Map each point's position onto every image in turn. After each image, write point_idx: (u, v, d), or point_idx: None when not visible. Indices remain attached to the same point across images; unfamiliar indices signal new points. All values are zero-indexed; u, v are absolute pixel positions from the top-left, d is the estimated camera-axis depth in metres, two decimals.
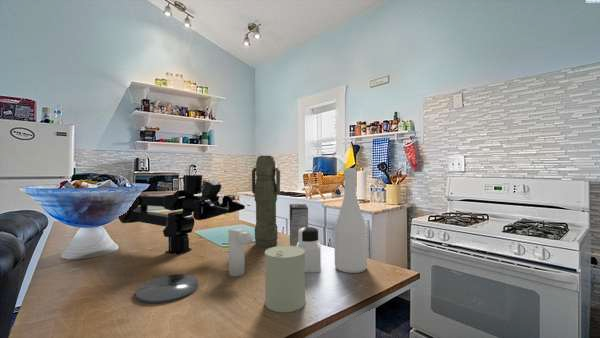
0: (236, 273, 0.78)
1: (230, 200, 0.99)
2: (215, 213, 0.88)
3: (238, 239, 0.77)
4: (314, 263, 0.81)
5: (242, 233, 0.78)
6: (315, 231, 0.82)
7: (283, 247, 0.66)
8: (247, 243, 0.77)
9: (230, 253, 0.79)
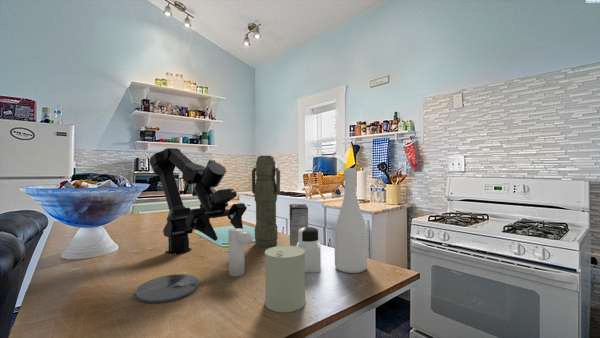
0: (236, 273, 0.78)
1: (236, 214, 0.88)
2: (205, 231, 0.80)
3: (238, 239, 0.77)
4: (314, 263, 0.81)
5: (242, 233, 0.78)
6: (315, 231, 0.82)
7: (283, 247, 0.66)
8: (247, 243, 0.77)
9: (230, 253, 0.79)
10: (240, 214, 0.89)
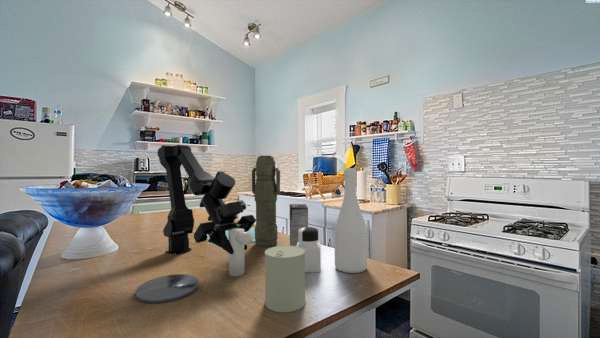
0: (236, 273, 0.78)
1: None
2: (221, 244, 0.79)
3: (238, 239, 0.77)
4: (314, 263, 0.81)
5: (242, 233, 0.78)
6: (315, 231, 0.82)
7: (283, 247, 0.66)
8: (247, 243, 0.77)
9: None
10: (244, 228, 0.84)
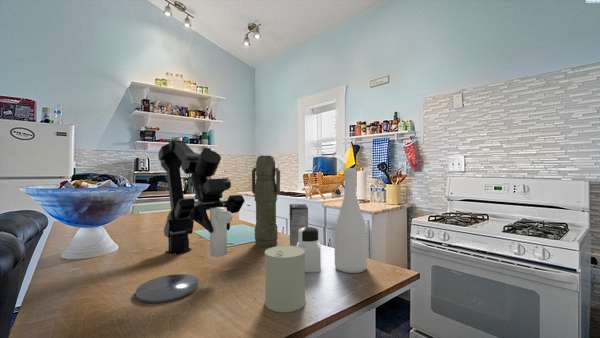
0: (216, 253, 0.74)
1: None
2: (202, 222, 0.75)
3: (217, 218, 0.73)
4: (314, 263, 0.81)
5: (222, 211, 0.73)
6: (315, 231, 0.82)
7: (283, 247, 0.66)
8: (225, 221, 0.72)
9: None
10: (228, 207, 0.80)
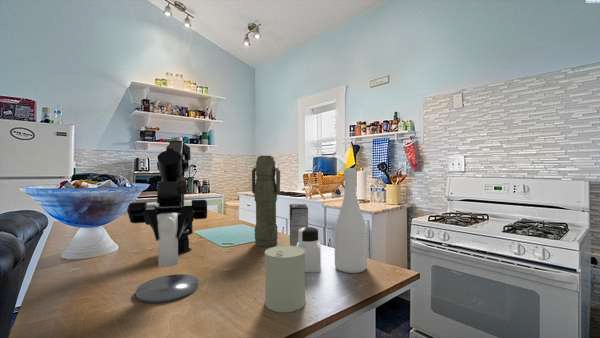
0: (161, 263, 0.68)
1: (180, 213, 0.72)
2: (153, 228, 0.71)
3: None
4: (314, 263, 0.81)
5: (163, 217, 0.66)
6: (315, 231, 0.82)
7: (283, 247, 0.66)
8: (163, 229, 0.65)
9: None
10: (184, 213, 0.72)
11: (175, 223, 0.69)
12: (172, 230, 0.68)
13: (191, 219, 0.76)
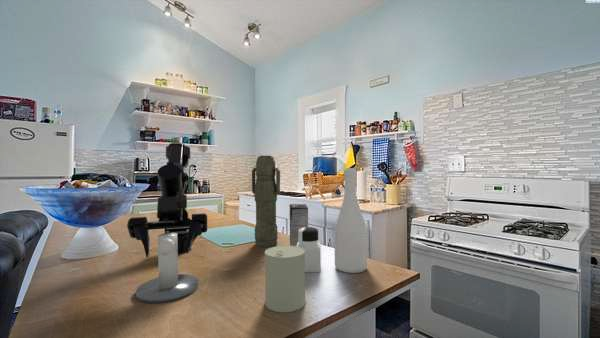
0: (161, 285, 0.68)
1: None
2: None
3: None
4: (314, 263, 0.81)
5: (162, 240, 0.66)
6: (315, 231, 0.82)
7: (283, 247, 0.66)
8: (163, 252, 0.65)
9: None
10: (193, 227, 0.73)
11: (175, 244, 0.69)
12: (172, 252, 0.68)
13: (199, 232, 0.76)
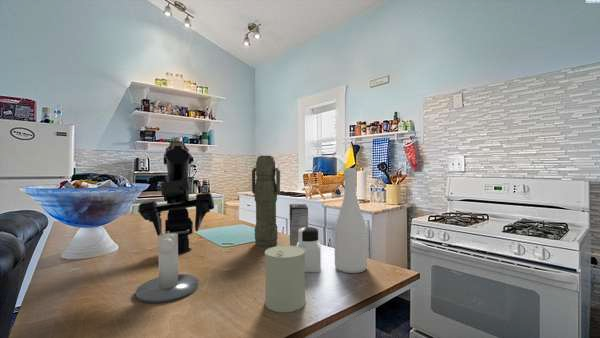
0: (161, 285, 0.68)
1: (196, 207, 0.77)
2: None
3: None
4: (314, 263, 0.81)
5: (163, 239, 0.66)
6: (315, 231, 0.82)
7: (283, 247, 0.66)
8: (163, 252, 0.65)
9: None
10: (199, 207, 0.77)
11: (175, 244, 0.69)
12: (172, 251, 0.69)
13: (207, 210, 0.80)
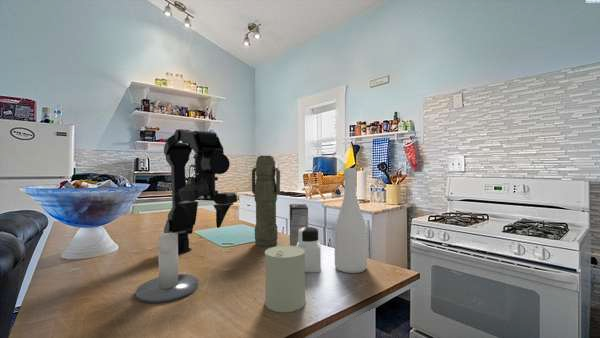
0: (161, 285, 0.68)
1: None
2: None
3: None
4: (314, 263, 0.81)
5: (163, 239, 0.66)
6: (315, 231, 0.82)
7: (283, 247, 0.66)
8: (163, 252, 0.65)
9: None
10: (218, 209, 0.79)
11: (175, 244, 0.69)
12: (172, 251, 0.69)
13: (230, 205, 0.82)
